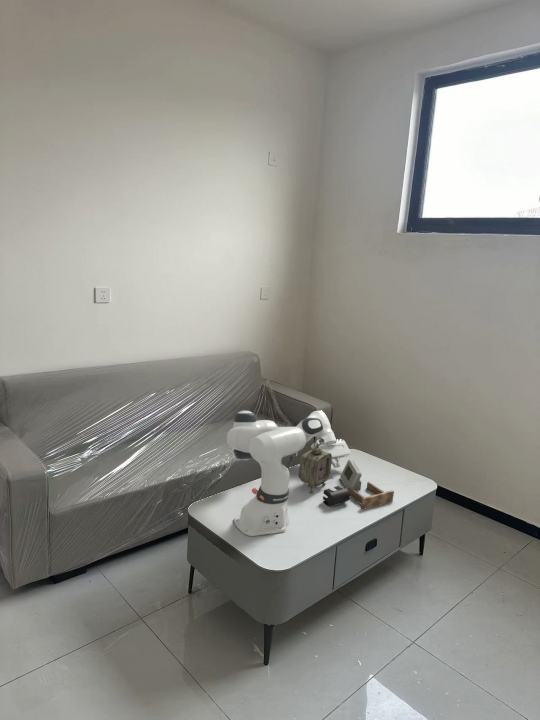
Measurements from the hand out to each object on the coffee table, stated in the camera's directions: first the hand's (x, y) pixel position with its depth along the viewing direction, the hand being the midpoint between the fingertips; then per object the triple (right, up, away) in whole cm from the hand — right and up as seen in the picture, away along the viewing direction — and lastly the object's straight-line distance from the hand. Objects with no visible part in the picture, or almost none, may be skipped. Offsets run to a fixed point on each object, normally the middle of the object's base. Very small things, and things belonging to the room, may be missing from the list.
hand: (337, 467), depth 246 cm
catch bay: (+11, -10, -18) cm, 24 cm away
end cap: (-4, -11, -25) cm, 28 cm away
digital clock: (+5, -8, -8) cm, 12 cm away
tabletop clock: (-13, -7, -12) cm, 20 cm away
